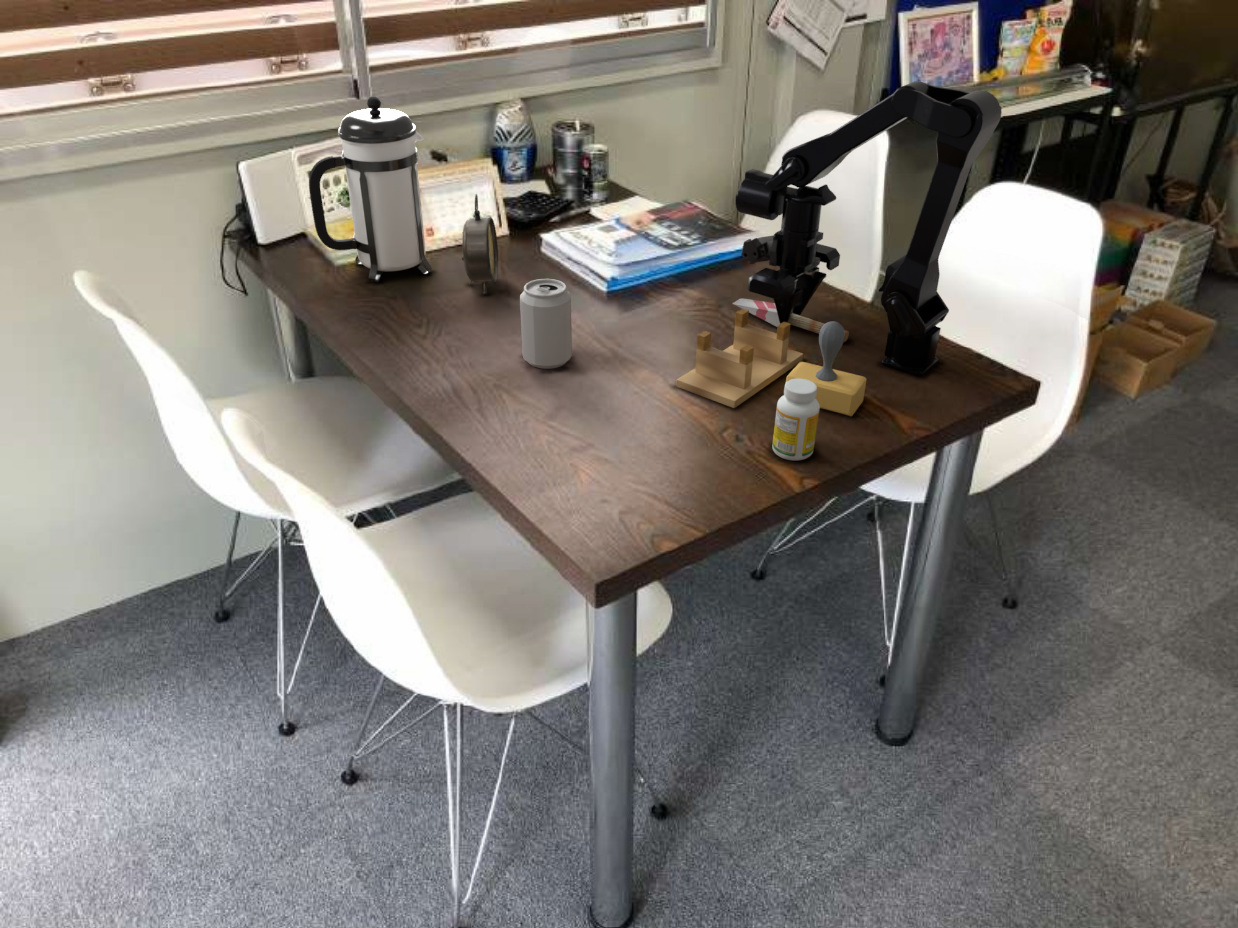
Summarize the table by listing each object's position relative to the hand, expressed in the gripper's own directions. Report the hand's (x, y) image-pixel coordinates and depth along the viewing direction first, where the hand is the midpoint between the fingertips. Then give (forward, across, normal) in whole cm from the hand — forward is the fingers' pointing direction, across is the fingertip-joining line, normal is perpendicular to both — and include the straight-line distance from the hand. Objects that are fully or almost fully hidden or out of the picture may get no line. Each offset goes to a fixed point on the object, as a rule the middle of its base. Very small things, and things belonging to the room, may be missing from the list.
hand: (789, 320), depth 163 cm
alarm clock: (+1, +20, -50) cm, 54 cm away
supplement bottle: (+1, +33, +20) cm, 39 cm away
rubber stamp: (+1, +18, +16) cm, 25 cm away
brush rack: (+1, +19, +3) cm, 19 cm away
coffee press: (+1, +26, -68) cm, 73 cm away
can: (+1, +34, -22) cm, 41 cm away
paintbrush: (+1, 0, 0) cm, 1 cm away
